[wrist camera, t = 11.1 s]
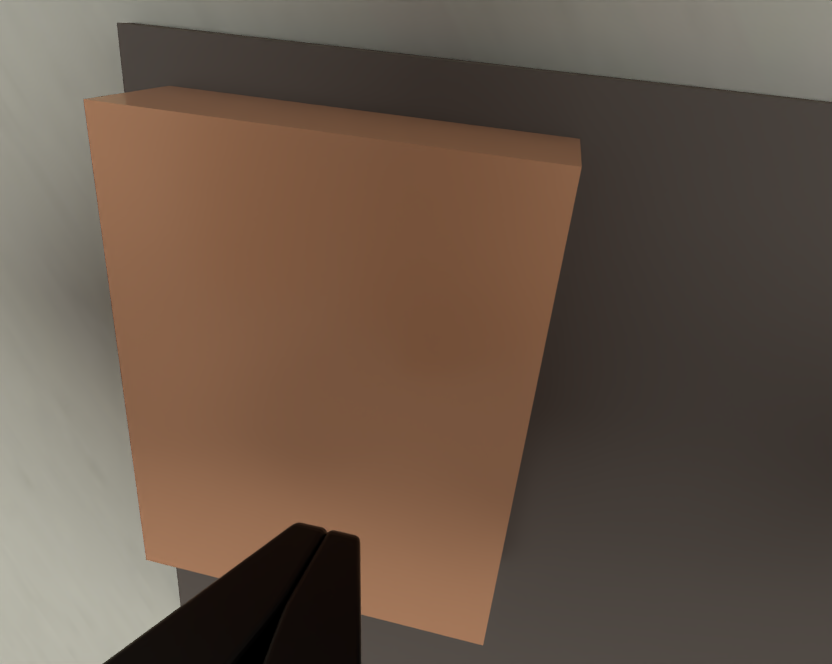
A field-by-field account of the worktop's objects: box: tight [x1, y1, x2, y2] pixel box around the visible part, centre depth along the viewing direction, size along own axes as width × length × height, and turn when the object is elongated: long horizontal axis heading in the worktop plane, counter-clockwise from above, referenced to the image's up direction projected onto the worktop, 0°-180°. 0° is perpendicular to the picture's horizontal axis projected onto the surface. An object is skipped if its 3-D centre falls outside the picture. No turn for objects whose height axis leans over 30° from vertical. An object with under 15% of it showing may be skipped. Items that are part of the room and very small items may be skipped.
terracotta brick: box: [84, 86, 582, 645], centre depth 12 cm, size 2×9×7 cm
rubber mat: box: [117, 23, 832, 664], centre depth 13 cm, size 18×15×1 cm
